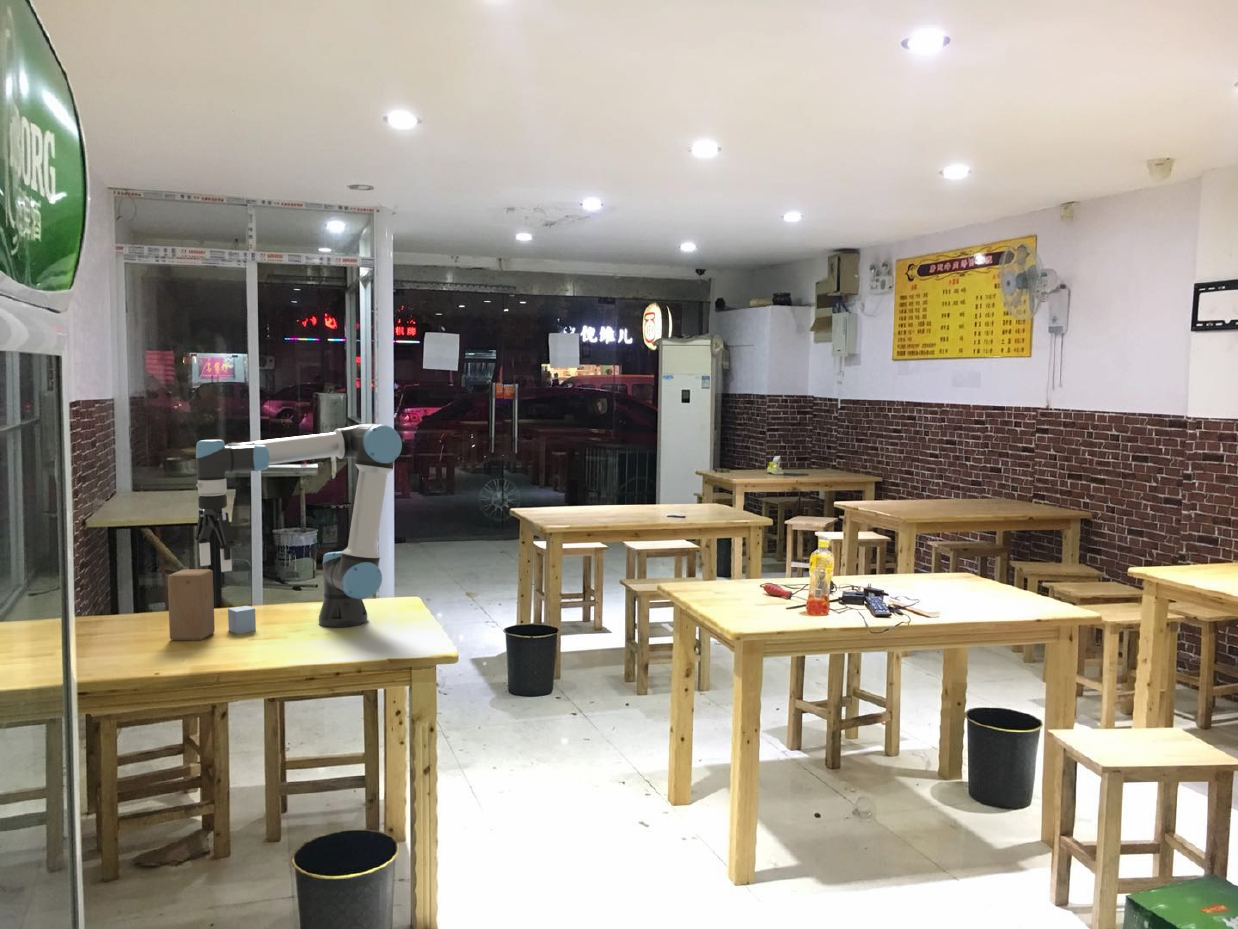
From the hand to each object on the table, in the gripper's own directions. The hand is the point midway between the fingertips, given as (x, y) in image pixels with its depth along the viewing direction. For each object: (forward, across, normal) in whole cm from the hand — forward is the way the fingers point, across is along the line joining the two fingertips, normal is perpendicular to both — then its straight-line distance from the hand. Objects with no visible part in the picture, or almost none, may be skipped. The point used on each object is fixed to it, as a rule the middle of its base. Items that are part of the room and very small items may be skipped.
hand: (215, 568), depth 278 cm
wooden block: (+24, -21, +1) cm, 32 cm away
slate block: (+24, -18, +15) cm, 34 cm away
